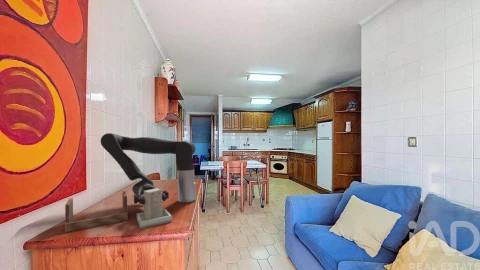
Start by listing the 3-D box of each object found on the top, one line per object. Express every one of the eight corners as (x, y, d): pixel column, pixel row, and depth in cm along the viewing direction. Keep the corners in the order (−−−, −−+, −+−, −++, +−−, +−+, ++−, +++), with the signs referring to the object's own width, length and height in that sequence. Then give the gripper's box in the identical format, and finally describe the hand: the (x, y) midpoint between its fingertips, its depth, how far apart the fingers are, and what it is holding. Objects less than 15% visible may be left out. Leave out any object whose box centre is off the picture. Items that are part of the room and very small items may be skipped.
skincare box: (157, 215, 96) (157, 187, 96) (162, 217, 93) (162, 189, 94) (143, 219, 92) (143, 190, 92) (148, 222, 89) (148, 192, 89)
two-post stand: (125, 212, 104) (125, 191, 104) (127, 220, 94) (127, 196, 94) (69, 222, 93) (69, 198, 93) (65, 232, 83) (64, 205, 83)
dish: (165, 213, 101) (165, 208, 101) (171, 221, 90) (171, 215, 90) (136, 219, 94) (136, 213, 94) (140, 228, 84) (140, 222, 84)
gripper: (131, 187, 102) (135, 194, 88) (163, 183, 109) (171, 189, 95) (131, 203, 102) (135, 212, 88) (163, 198, 109) (171, 206, 95)
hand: (154, 200), depth 92 cm, fingers open, 8 cm apart
